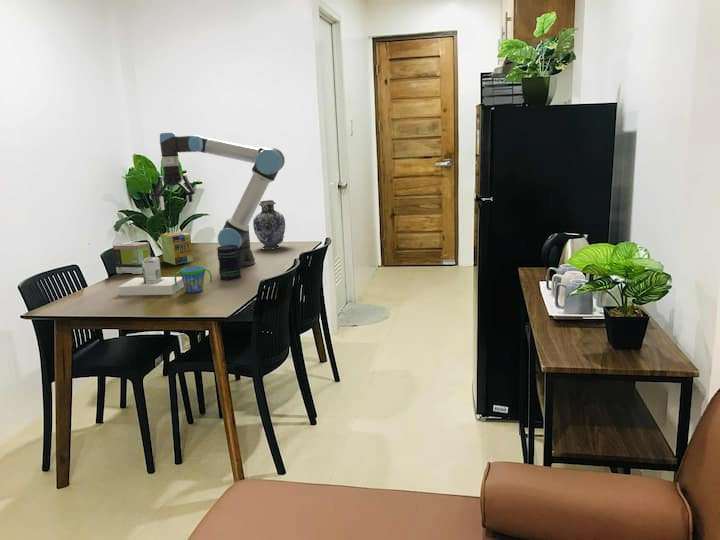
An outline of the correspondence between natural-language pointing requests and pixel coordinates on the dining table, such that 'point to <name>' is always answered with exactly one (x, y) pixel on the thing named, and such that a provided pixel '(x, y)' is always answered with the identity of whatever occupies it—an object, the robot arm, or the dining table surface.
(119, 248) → the tea box
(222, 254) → the storage jar
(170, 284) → the flat white box
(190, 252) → the protein box
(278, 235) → the decorative vase
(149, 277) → the syrup box
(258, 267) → the dining table surface
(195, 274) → the snack cup
